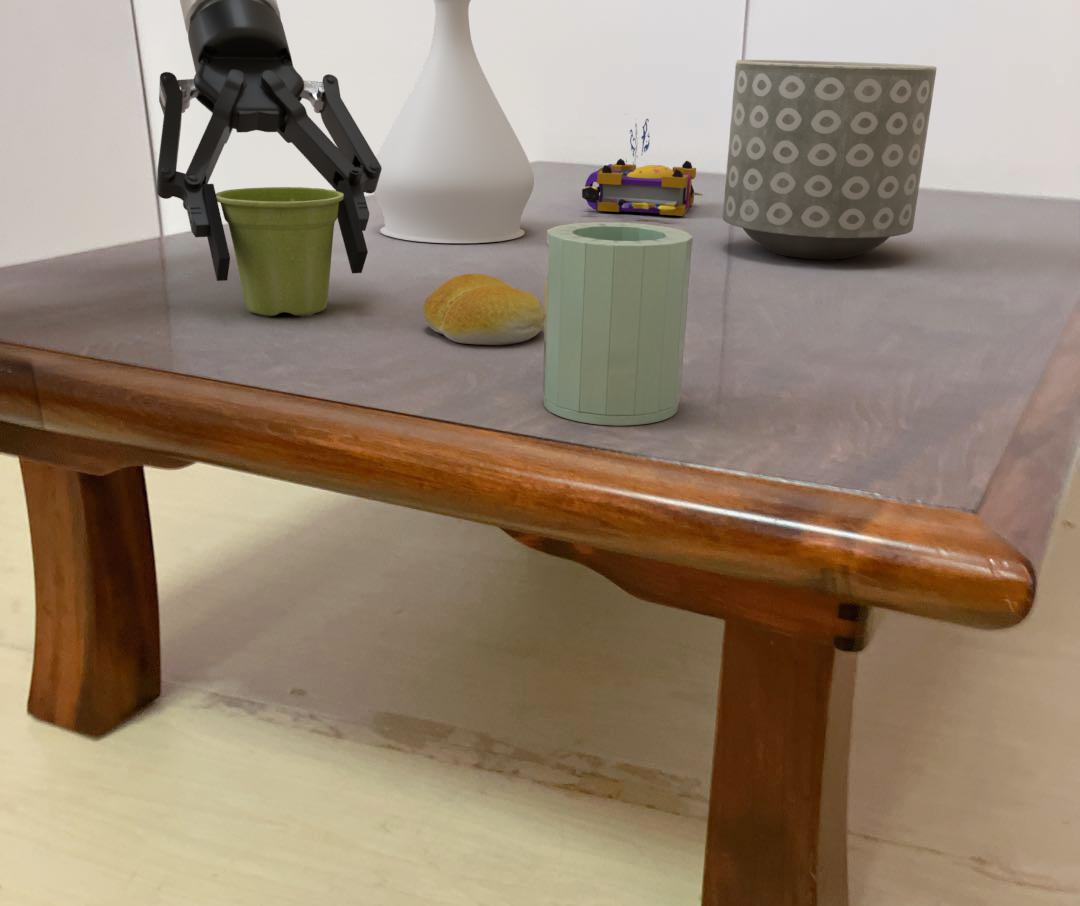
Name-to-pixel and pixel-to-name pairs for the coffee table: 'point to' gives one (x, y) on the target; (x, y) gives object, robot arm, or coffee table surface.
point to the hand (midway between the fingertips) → (293, 266)
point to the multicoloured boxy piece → (641, 187)
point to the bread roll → (483, 311)
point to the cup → (615, 321)
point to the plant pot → (282, 246)
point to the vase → (452, 149)
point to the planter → (826, 154)
